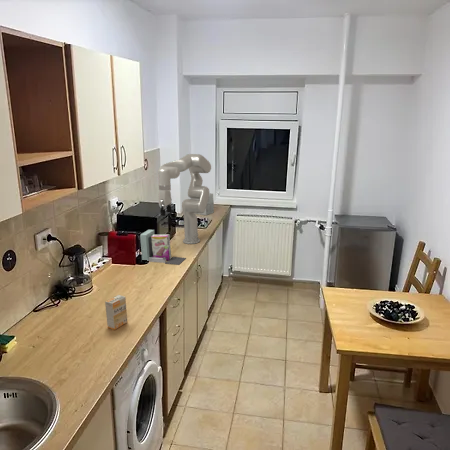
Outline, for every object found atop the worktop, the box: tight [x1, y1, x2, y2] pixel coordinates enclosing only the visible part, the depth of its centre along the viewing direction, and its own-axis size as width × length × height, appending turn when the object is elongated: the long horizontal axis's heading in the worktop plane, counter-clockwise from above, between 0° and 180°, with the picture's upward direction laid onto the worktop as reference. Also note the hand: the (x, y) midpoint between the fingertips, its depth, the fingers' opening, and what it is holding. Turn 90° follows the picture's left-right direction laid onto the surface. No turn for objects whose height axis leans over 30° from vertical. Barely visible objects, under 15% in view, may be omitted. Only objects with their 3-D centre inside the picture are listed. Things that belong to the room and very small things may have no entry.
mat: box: [164, 256, 187, 266], centre depth 264 cm, size 12×10×1 cm
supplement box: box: [104, 294, 128, 331], centre depth 185 cm, size 8×5×13 cm, turn 148°
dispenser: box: [139, 229, 167, 264], centre depth 266 cm, size 12×16×18 cm
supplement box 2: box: [190, 192, 215, 216], centre depth 382 cm, size 17×13×18 cm
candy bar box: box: [151, 233, 172, 261], centre depth 265 cm, size 11×5×16 cm, turn 84°
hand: (166, 213), depth 268 cm, fingers open, 9 cm apart
